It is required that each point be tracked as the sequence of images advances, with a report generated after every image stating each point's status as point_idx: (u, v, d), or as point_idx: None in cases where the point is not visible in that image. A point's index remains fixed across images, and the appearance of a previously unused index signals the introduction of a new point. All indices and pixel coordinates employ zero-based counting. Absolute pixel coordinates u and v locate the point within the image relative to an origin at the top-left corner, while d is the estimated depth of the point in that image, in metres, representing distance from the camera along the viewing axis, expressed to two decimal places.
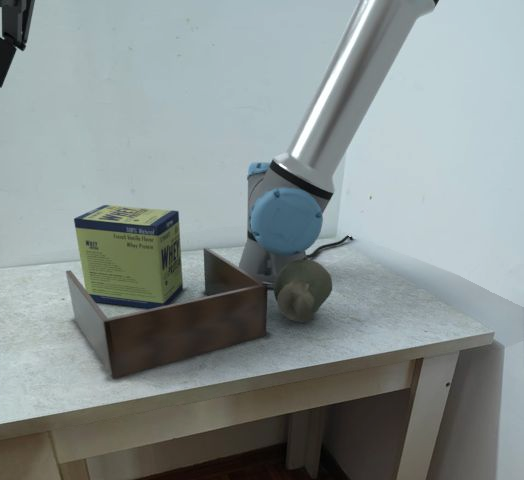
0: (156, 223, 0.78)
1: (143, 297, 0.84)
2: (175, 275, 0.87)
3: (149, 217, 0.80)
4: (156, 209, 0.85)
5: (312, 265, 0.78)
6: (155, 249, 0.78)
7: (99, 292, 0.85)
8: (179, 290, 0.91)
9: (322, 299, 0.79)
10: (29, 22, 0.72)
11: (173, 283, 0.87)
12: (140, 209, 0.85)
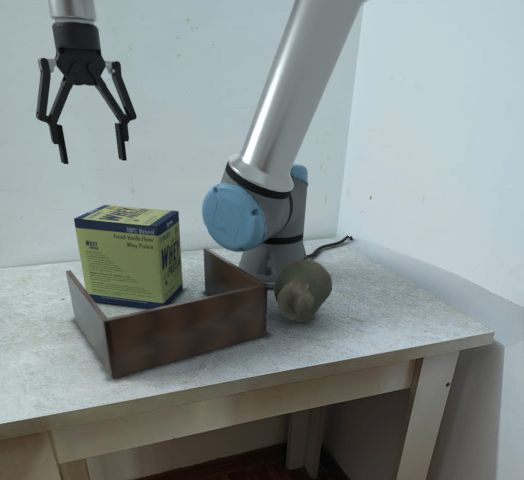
0: (156, 223, 0.78)
1: (143, 298, 0.84)
2: (175, 275, 0.87)
3: (149, 217, 0.80)
4: (156, 209, 0.85)
5: (312, 265, 0.78)
6: (155, 249, 0.78)
7: (99, 292, 0.85)
8: (179, 290, 0.91)
9: (322, 299, 0.79)
10: (127, 98, 0.88)
11: (173, 283, 0.87)
12: (140, 209, 0.85)
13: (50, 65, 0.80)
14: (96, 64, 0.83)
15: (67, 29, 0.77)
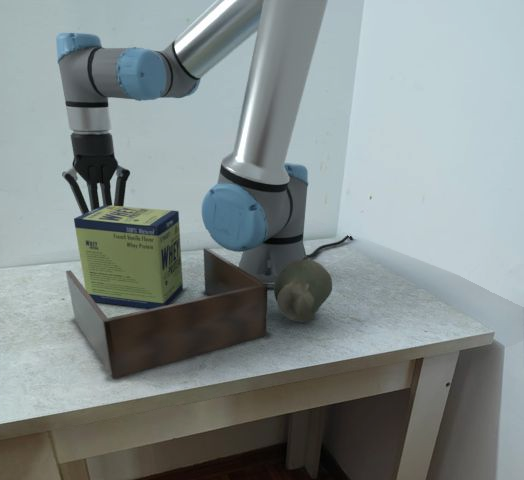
0: (156, 223, 0.78)
1: (143, 297, 0.84)
2: (175, 275, 0.87)
3: (149, 217, 0.80)
4: (156, 209, 0.85)
5: (312, 265, 0.78)
6: (155, 249, 0.78)
7: (99, 292, 0.85)
8: (179, 290, 0.91)
9: (322, 299, 0.79)
10: (121, 200, 0.95)
11: (173, 283, 0.87)
12: (140, 209, 0.85)
13: (73, 175, 0.89)
14: (109, 163, 0.91)
15: (84, 141, 0.85)
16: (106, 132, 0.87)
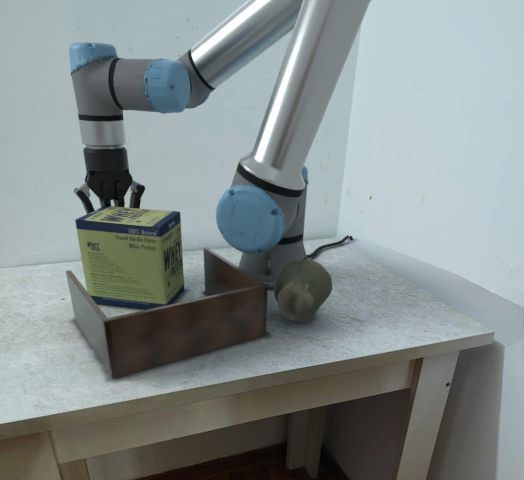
0: (158, 224, 0.77)
1: (145, 299, 0.83)
2: (177, 276, 0.87)
3: (151, 218, 0.80)
4: (157, 210, 0.85)
5: (312, 265, 0.78)
6: (158, 250, 0.78)
7: (101, 293, 0.84)
8: (181, 291, 0.90)
9: (322, 299, 0.79)
10: None
11: (175, 284, 0.86)
12: (141, 210, 0.85)
13: (85, 191, 0.84)
14: (124, 179, 0.86)
15: (98, 156, 0.80)
16: (121, 146, 0.82)
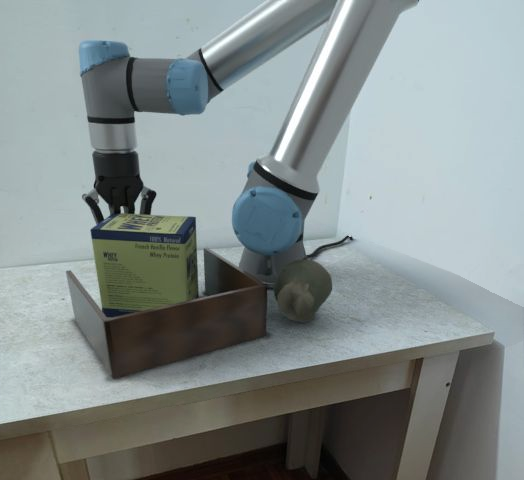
0: (181, 231, 0.74)
1: None
2: (195, 283, 0.84)
3: (170, 224, 0.77)
4: (171, 216, 0.82)
5: (312, 265, 0.78)
6: (181, 258, 0.75)
7: (117, 305, 0.80)
8: (196, 298, 0.87)
9: (322, 299, 0.79)
10: None
11: (193, 292, 0.83)
12: (155, 216, 0.81)
13: (94, 198, 0.80)
14: (134, 184, 0.82)
15: (108, 161, 0.76)
16: (132, 150, 0.78)
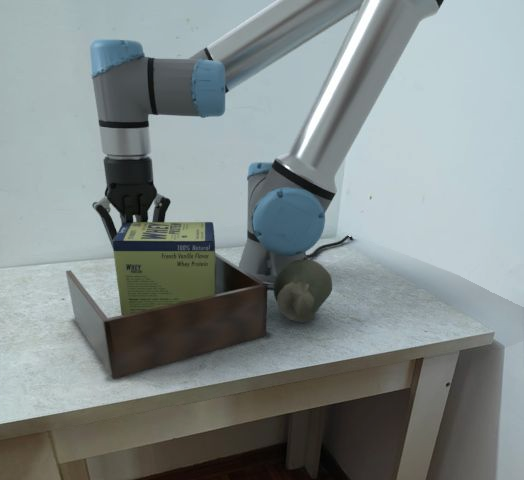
0: (209, 237, 0.72)
1: None
2: None
3: (193, 231, 0.74)
4: (187, 222, 0.79)
5: (312, 265, 0.78)
6: (210, 266, 0.73)
7: None
8: None
9: (322, 299, 0.79)
10: None
11: None
12: (171, 223, 0.77)
13: (105, 206, 0.75)
14: (147, 192, 0.77)
15: (120, 168, 0.72)
16: (145, 156, 0.74)
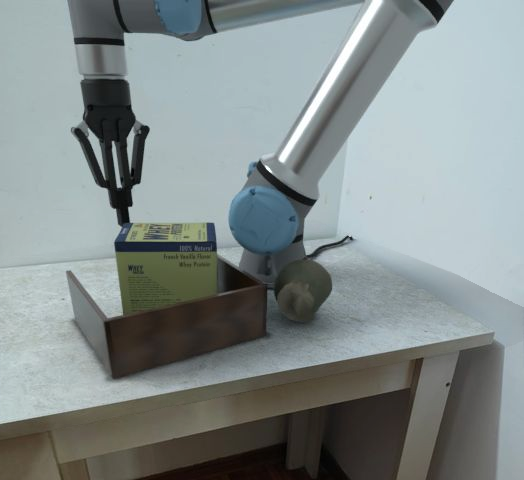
0: (211, 238, 0.71)
1: None
2: None
3: (195, 232, 0.73)
4: None
5: (312, 265, 0.78)
6: (212, 266, 0.72)
7: None
8: None
9: (322, 299, 0.79)
10: (140, 162, 0.82)
11: None
12: (172, 224, 0.77)
13: (83, 130, 0.75)
14: (126, 117, 0.77)
15: (97, 87, 0.72)
16: (122, 77, 0.74)
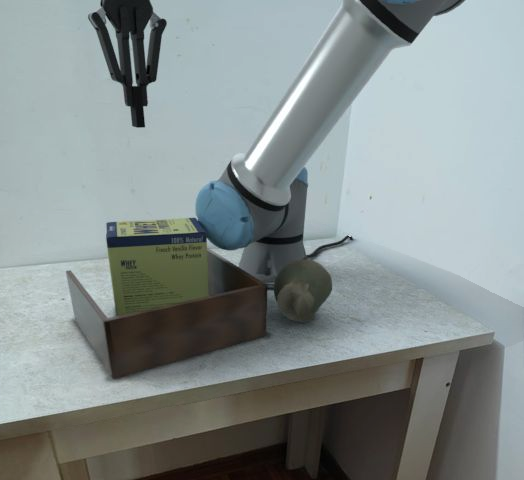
0: (200, 229, 0.74)
1: None
2: None
3: (182, 225, 0.75)
4: (171, 219, 0.80)
5: (312, 265, 0.78)
6: (204, 257, 0.75)
7: None
8: None
9: (322, 299, 0.79)
10: (156, 58, 0.81)
11: None
12: (155, 221, 0.79)
13: (101, 16, 0.75)
14: (143, 7, 0.77)
15: None
16: None
